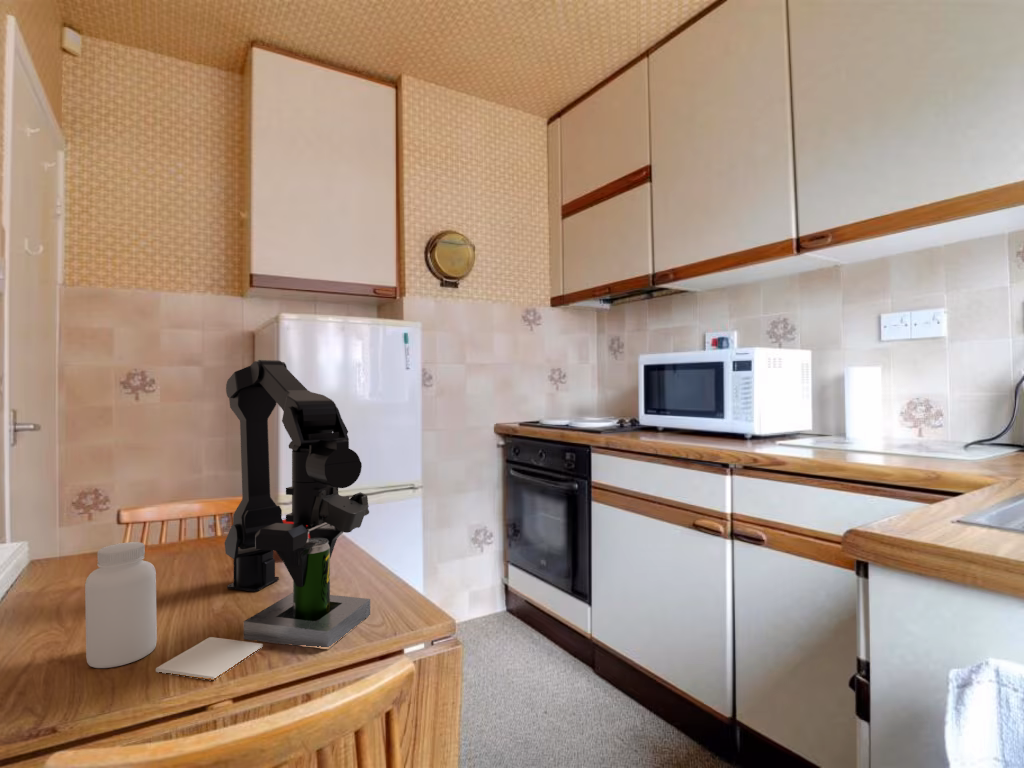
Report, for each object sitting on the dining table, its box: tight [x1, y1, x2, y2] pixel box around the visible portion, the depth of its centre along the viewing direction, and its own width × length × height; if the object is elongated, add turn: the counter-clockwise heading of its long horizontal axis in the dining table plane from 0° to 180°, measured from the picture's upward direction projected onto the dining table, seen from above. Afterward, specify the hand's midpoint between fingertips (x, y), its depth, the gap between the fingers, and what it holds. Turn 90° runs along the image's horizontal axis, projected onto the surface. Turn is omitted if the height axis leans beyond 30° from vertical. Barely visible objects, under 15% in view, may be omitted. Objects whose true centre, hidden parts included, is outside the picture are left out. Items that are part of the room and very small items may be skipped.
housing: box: [243, 592, 371, 647], centre depth 83 cm, size 14×12×3 cm
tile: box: [155, 636, 264, 679], centre depth 74 cm, size 9×9×1 cm
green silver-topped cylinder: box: [292, 538, 331, 621], centre depth 84 cm, size 5×5×12 cm
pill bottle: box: [84, 541, 158, 669], centre depth 75 cm, size 8×8×15 cm
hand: (311, 579), depth 84 cm, fingers closed on green silver-topped cylinder, 5 cm apart
